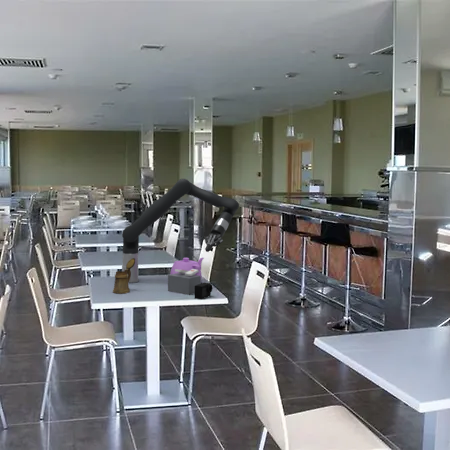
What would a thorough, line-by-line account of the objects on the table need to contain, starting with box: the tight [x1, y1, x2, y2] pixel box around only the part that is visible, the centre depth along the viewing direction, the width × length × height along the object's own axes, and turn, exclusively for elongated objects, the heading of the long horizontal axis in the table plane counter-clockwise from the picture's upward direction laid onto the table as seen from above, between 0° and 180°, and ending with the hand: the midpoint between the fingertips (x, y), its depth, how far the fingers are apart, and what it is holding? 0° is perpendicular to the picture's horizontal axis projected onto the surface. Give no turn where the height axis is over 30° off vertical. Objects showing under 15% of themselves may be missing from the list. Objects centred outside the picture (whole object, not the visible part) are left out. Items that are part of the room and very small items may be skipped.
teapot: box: [169, 257, 205, 279], centre depth 349 cm, size 23×21×15 cm
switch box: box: [167, 273, 202, 296], centre depth 324 cm, size 10×15×9 cm, turn 54°
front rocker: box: [185, 269, 199, 276], centre depth 323 cm, size 7×4×2 cm, turn 144°
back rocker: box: [175, 269, 188, 274], centre depth 327 cm, size 7×4×2 cm, turn 144°
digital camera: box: [194, 282, 214, 300], centre depth 311 cm, size 10×5×7 cm, turn 154°
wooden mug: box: [112, 258, 135, 295], centre depth 321 cm, size 9×14×18 cm, turn 137°
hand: (206, 250), depth 333 cm, fingers closed
